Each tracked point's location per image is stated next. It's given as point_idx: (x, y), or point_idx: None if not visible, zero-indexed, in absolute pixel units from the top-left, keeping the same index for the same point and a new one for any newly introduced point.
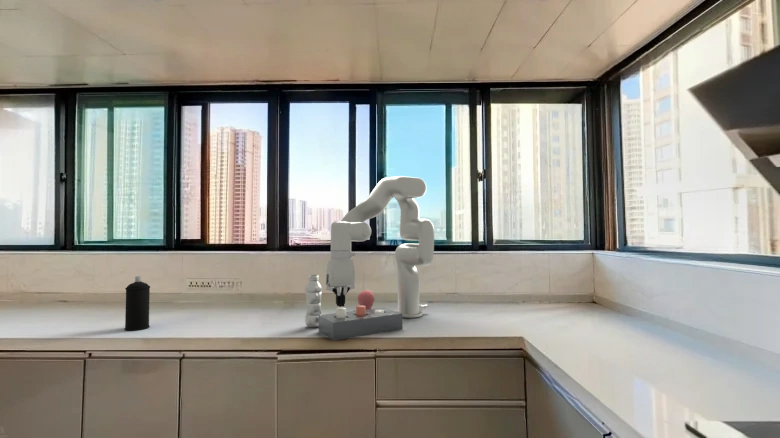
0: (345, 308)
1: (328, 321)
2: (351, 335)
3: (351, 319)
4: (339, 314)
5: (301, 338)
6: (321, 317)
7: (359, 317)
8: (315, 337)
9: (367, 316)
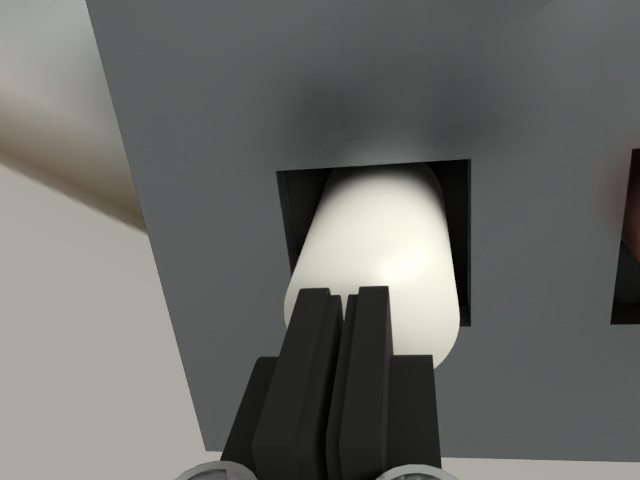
0: (440, 347)
1: (182, 336)
2: None
3: (438, 428)
4: None
5: (4, 159)
6: (120, 108)
7: (581, 393)
8: (125, 186)
9: None
